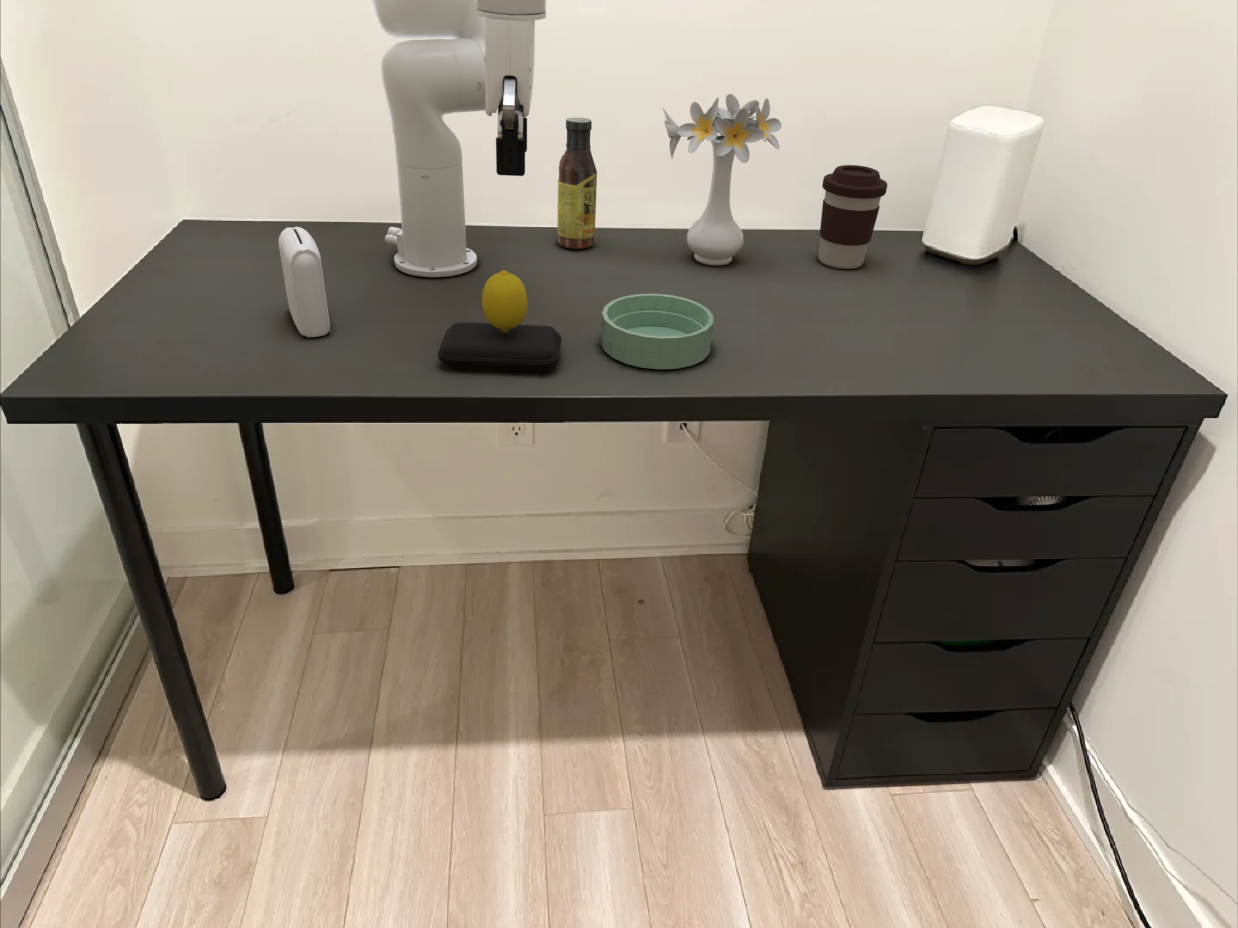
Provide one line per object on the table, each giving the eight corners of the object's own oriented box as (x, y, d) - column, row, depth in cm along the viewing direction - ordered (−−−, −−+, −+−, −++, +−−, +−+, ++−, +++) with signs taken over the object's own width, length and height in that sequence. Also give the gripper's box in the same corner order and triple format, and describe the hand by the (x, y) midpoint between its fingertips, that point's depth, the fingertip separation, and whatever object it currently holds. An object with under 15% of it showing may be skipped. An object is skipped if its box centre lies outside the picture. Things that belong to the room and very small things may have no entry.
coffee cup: (879, 260, 149) (898, 169, 140) (858, 277, 141) (877, 182, 133) (823, 248, 153) (838, 158, 145) (800, 263, 146) (815, 170, 138)
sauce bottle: (589, 252, 145) (593, 125, 135) (552, 248, 146) (553, 122, 136) (598, 240, 151) (602, 117, 140) (562, 236, 152) (564, 113, 141)
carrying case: (562, 340, 117) (450, 335, 116) (562, 318, 115) (448, 313, 115) (557, 377, 108) (435, 372, 107) (558, 354, 106) (434, 349, 106)
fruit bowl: (582, 354, 113) (583, 322, 111) (629, 316, 124) (630, 286, 122) (685, 380, 108) (689, 347, 106) (725, 338, 119) (728, 307, 117)
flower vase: (645, 248, 149) (655, 88, 135) (750, 245, 152) (770, 89, 139) (664, 276, 138) (677, 106, 124) (776, 272, 141) (800, 106, 128)
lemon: (492, 344, 107) (490, 281, 103) (476, 327, 111) (474, 265, 107) (534, 337, 110) (534, 275, 105) (517, 320, 114) (516, 260, 109)
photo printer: (287, 310, 120) (272, 220, 114) (319, 306, 122) (306, 217, 115) (299, 340, 113) (284, 246, 106) (334, 336, 114) (321, 242, 108)
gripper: (481, -12, 102) (484, 142, 112) (469, 9, 88) (475, 183, 97) (546, -8, 103) (544, 145, 112) (545, 13, 88) (543, 186, 98)
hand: (512, 162), depth 105 cm, fingers open, 9 cm apart
